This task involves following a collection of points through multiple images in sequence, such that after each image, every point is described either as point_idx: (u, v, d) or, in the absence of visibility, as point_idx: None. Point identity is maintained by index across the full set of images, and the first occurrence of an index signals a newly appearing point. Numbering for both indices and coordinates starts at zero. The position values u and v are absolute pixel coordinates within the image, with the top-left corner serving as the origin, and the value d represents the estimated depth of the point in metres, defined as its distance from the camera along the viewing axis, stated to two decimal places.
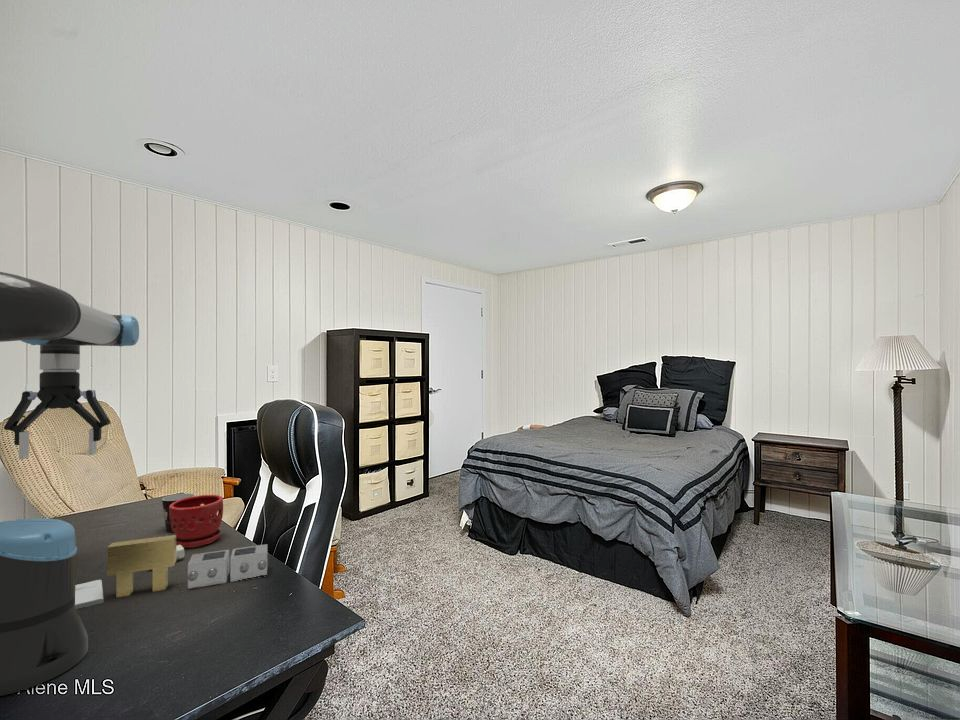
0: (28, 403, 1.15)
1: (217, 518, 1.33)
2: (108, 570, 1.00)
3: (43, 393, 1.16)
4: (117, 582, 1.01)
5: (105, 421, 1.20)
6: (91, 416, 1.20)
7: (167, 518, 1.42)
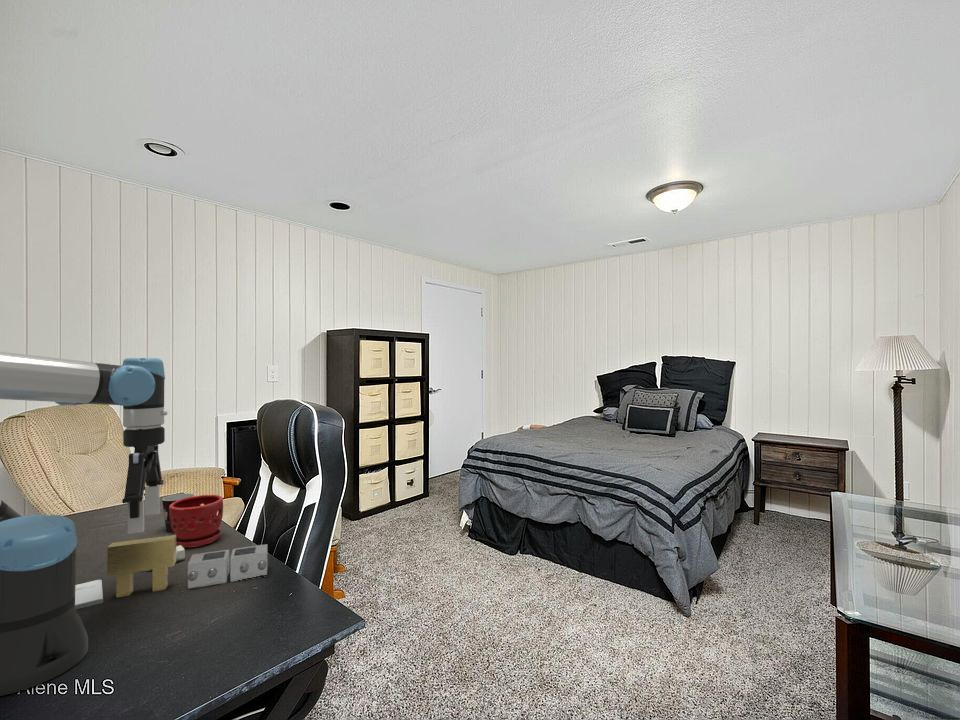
0: None
1: (217, 518, 1.33)
2: (108, 570, 1.00)
3: None
4: (117, 582, 1.01)
5: (124, 496, 0.95)
6: None
7: (167, 518, 1.42)
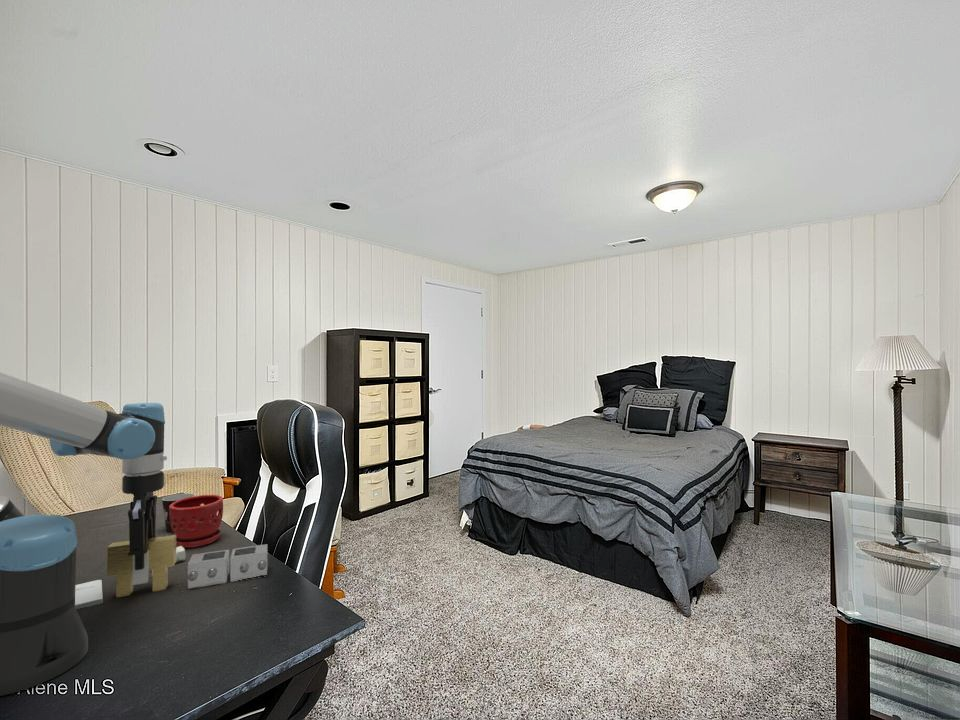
0: None
1: (217, 518, 1.33)
2: (108, 570, 1.00)
3: None
4: (117, 582, 1.01)
5: (130, 551, 0.99)
6: None
7: (167, 518, 1.42)
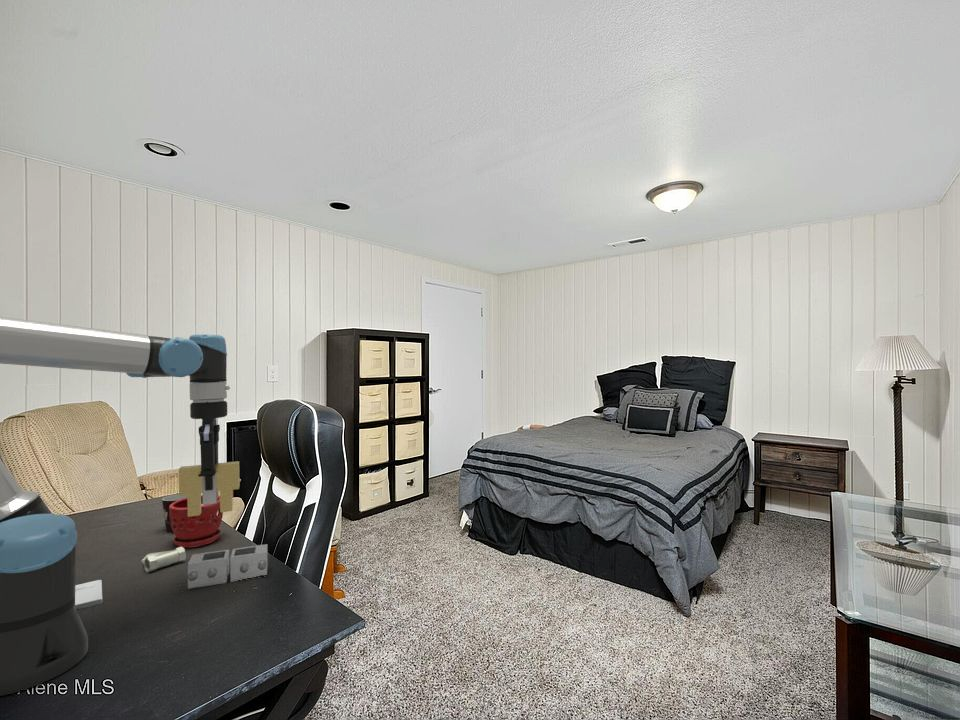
0: None
1: (217, 518, 1.33)
2: (180, 490, 1.06)
3: None
4: (188, 502, 1.07)
5: (201, 471, 1.04)
6: None
7: (167, 518, 1.42)
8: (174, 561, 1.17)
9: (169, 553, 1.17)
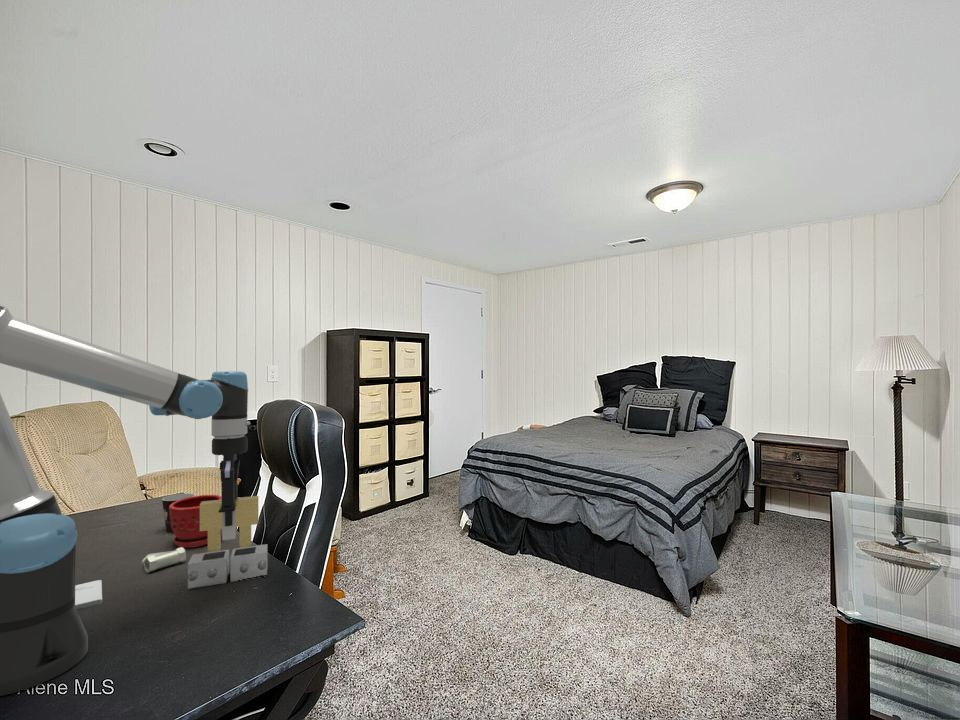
0: None
1: None
2: (200, 526, 1.07)
3: None
4: (208, 537, 1.08)
5: (221, 508, 1.06)
6: None
7: (167, 518, 1.42)
8: (174, 562, 1.17)
9: (169, 553, 1.17)
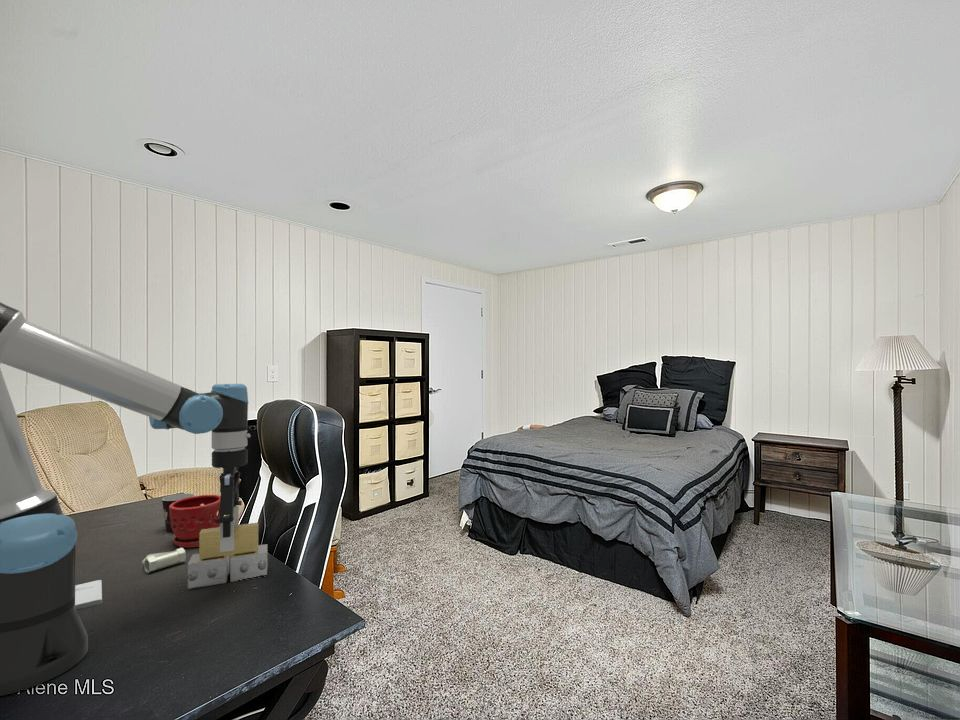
0: None
1: (217, 518, 1.33)
2: (200, 555, 1.07)
3: None
4: None
5: (219, 517, 1.02)
6: None
7: (167, 518, 1.42)
8: (174, 562, 1.17)
9: (169, 554, 1.17)
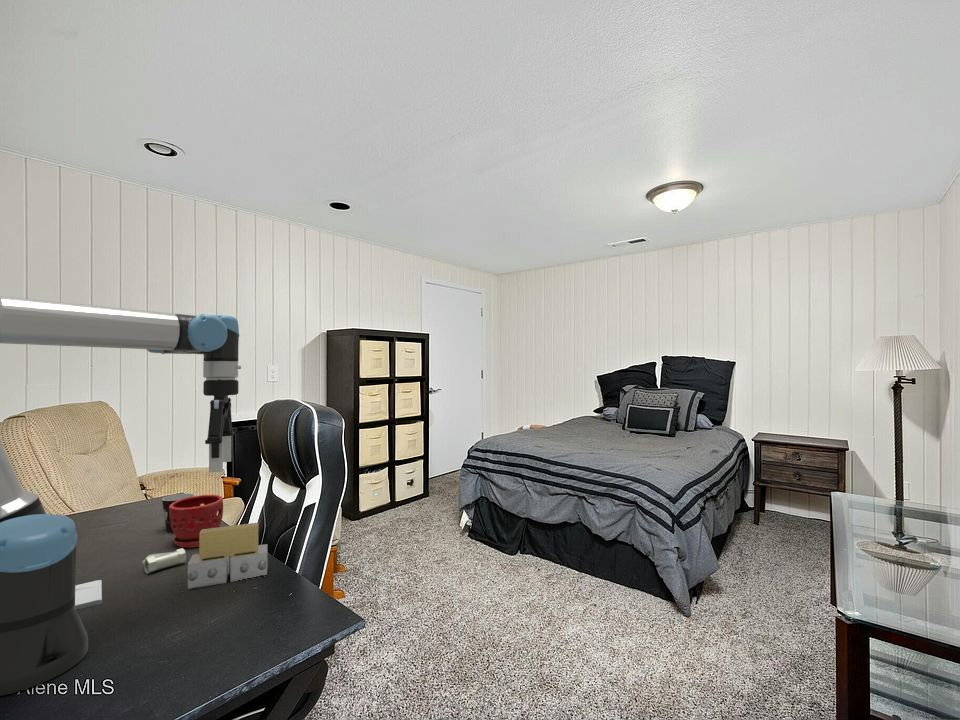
0: None
1: (217, 518, 1.33)
2: (200, 555, 1.07)
3: None
4: None
5: None
6: None
7: (167, 518, 1.42)
8: (174, 563, 1.16)
9: (169, 555, 1.16)
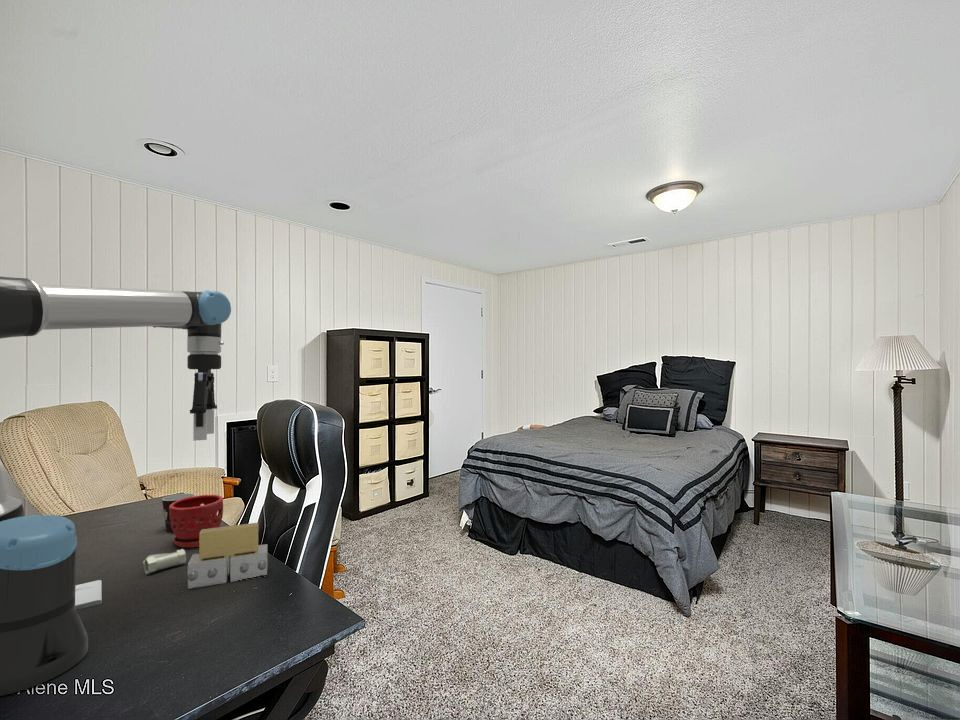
0: None
1: (217, 518, 1.33)
2: (200, 555, 1.07)
3: None
4: None
5: (192, 406, 1.11)
6: None
7: (167, 518, 1.42)
8: (174, 564, 1.16)
9: (169, 555, 1.16)
